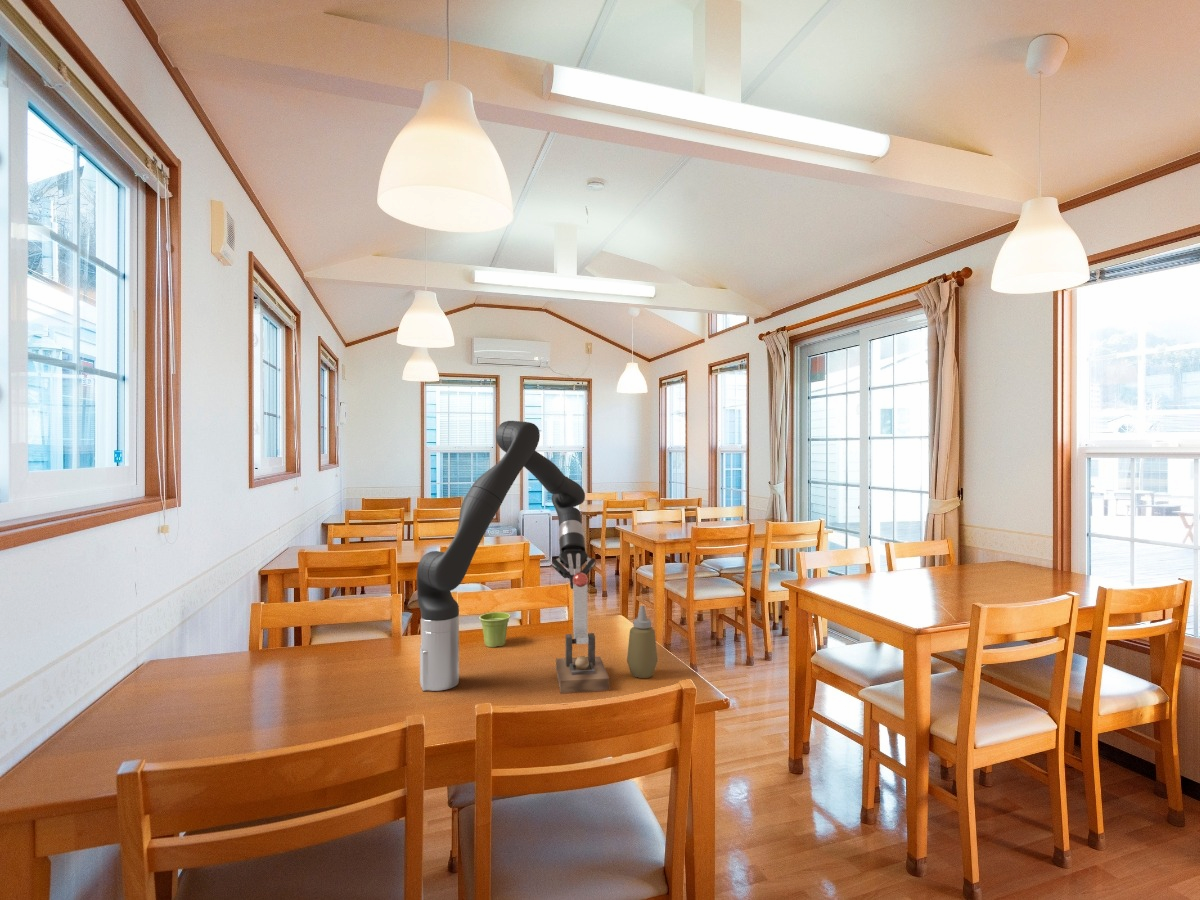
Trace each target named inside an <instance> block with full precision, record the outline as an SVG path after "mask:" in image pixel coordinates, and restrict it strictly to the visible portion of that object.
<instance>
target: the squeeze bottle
mask: <svg viewBox="0 0 1200 900" xmlns="http://www.w3.org/2000/svg"><path fill="white" fill-rule="evenodd" d="M646 611H647V610H646V607H645V605H640V606H639V610H638V614H637V617H636V618H634V619H633V621H632V622H633V624H632V626H633V627H631V628H629V629H630V630H629V634H628V635H629V638H628V646H627V656H626V662H627V666H628V668H629V672H630V674H632V675H631V676H633V677H634V678H637V677H638V678H639V679H647V678H648V679H649V678H652V677H653V676H654V674H655V670H656V667H657V664H658V662H659V661H658V652H657V650H658V649H657V642H656V632H655V629H654V628H653V627H652V620H651V619H650V618H648V617H647V612H646Z"/></svg>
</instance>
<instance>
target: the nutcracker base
mask: <svg viewBox="0 0 1200 900" xmlns="http://www.w3.org/2000/svg"><path fill="white" fill-rule="evenodd" d="M587 635H588V644H587V656H585V657H586V658H587V659H588V661H589V666H588V668H587V669H586V670H579V669H577V667H576V665H575V661H576V659H577V658H578V657H573V645H574V644H576V640H575V639H574V638H573V634H571V633H566V634H565V658H564V657H563V658H561V657H560V658H556V659H555V663H556V664H555V671H557V672H556V676H557V682H559V683H558V687H560V688H559V693H560V694H569V693H571V692H572V693H587V692H588V691H592V692H603V691H604V692H606V690H609V691H610V676H609V674H608V672H607V670H606V667H605V665H604V662H603V660H602V658H601V656H596V635H595V633H594V632H587ZM576 645H577V644H576ZM572 693H571V694H572Z"/></svg>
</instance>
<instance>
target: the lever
mask: <svg viewBox="0 0 1200 900" xmlns="http://www.w3.org/2000/svg"><path fill="white" fill-rule="evenodd" d="M588 582H589V578H588V575H586V574H584V573H582V572H579V573H576V574H575V573H574V577H573V589H572V600H573V601H572V607H573V608H572V609H573V610H572V611H573V612H572V638H573V639H575V640H576V645H584V644H587V645H588Z"/></svg>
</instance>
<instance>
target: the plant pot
mask: <svg viewBox="0 0 1200 900" xmlns="http://www.w3.org/2000/svg"><path fill="white" fill-rule="evenodd" d="M478 617H479V618H478V619H479V620H480V623H481V627H482V633H483V640H484V641H483V642H484V645H485V646H486V647H487V648H495V647H503V646H504V645H506V640H507V639H506V638H507V632H508V623H509V621H510V618H511V615H510V613H508V612H502V611H497V612H488V613H484V614H481V615H479V616H478Z"/></svg>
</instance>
